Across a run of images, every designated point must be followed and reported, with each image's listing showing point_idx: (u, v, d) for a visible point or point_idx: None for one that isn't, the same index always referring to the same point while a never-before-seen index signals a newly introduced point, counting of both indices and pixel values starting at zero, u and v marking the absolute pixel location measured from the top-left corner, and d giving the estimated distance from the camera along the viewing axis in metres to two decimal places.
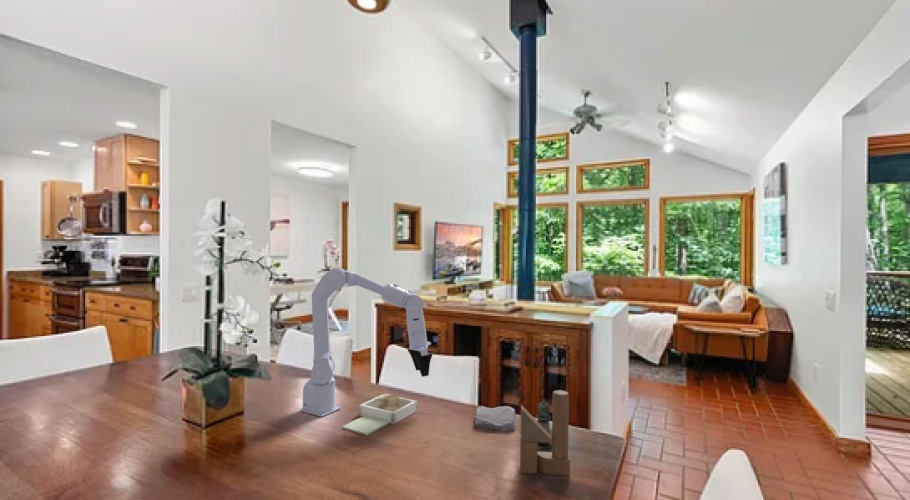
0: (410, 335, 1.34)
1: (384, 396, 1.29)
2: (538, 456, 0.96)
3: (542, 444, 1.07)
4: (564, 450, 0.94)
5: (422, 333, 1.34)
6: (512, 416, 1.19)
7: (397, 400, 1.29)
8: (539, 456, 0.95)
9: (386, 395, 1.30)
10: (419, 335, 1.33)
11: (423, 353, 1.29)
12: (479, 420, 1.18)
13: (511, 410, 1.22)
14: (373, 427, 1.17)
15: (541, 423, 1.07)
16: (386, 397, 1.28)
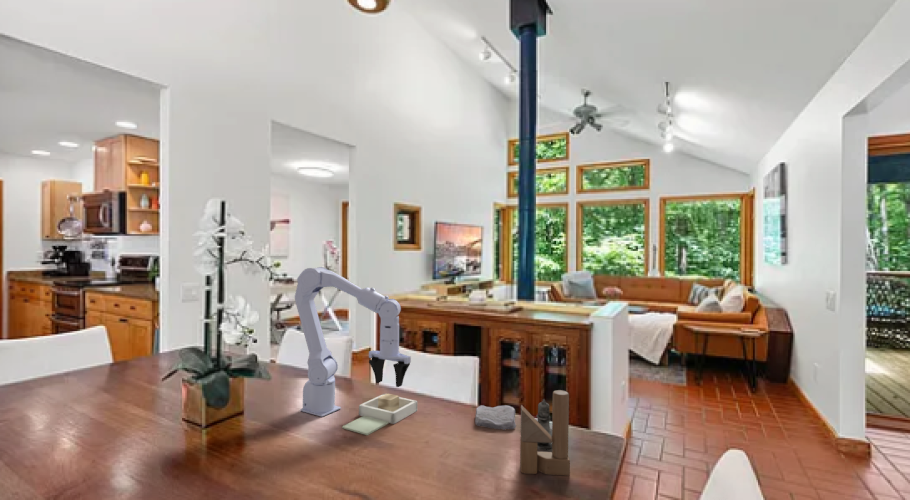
0: (387, 343, 1.26)
1: (384, 396, 1.29)
2: (538, 456, 0.96)
3: (542, 444, 1.07)
4: (564, 450, 0.94)
5: (398, 341, 1.29)
6: (512, 415, 1.20)
7: (397, 400, 1.29)
8: (539, 456, 0.95)
9: (386, 395, 1.30)
10: (397, 343, 1.28)
11: (408, 361, 1.25)
12: (479, 419, 1.19)
13: (511, 409, 1.23)
14: (373, 427, 1.17)
15: (541, 423, 1.07)
16: (386, 397, 1.28)
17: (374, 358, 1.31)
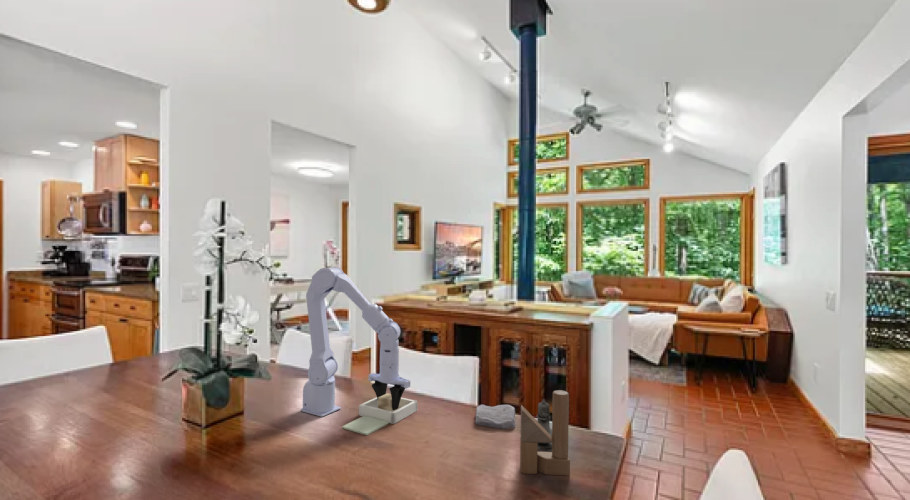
0: (387, 367, 1.26)
1: (384, 396, 1.29)
2: (538, 456, 0.96)
3: (542, 444, 1.07)
4: (564, 450, 0.94)
5: (398, 365, 1.29)
6: (512, 414, 1.21)
7: None
8: (539, 456, 0.95)
9: (386, 395, 1.30)
10: (396, 367, 1.28)
11: (407, 385, 1.25)
12: (479, 418, 1.20)
13: (511, 408, 1.23)
14: (373, 427, 1.17)
15: (541, 423, 1.07)
16: (386, 397, 1.28)
17: None
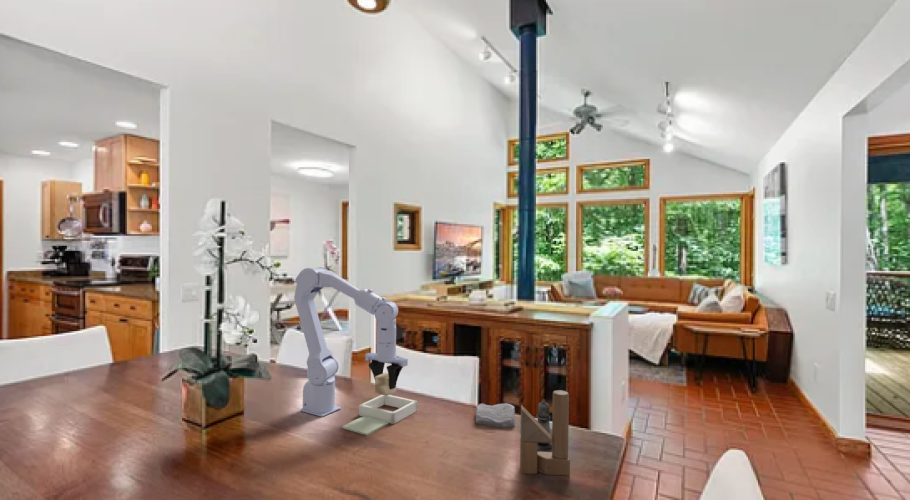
0: (384, 346, 1.25)
1: (381, 375, 1.28)
2: (538, 456, 0.96)
3: (542, 444, 1.07)
4: (564, 450, 0.94)
5: (395, 343, 1.27)
6: (512, 413, 1.22)
7: None
8: (539, 456, 0.95)
9: (383, 374, 1.29)
10: (393, 346, 1.26)
11: (404, 364, 1.24)
12: (480, 417, 1.20)
13: (511, 407, 1.24)
14: (373, 427, 1.17)
15: (541, 423, 1.07)
16: (384, 376, 1.27)
17: None
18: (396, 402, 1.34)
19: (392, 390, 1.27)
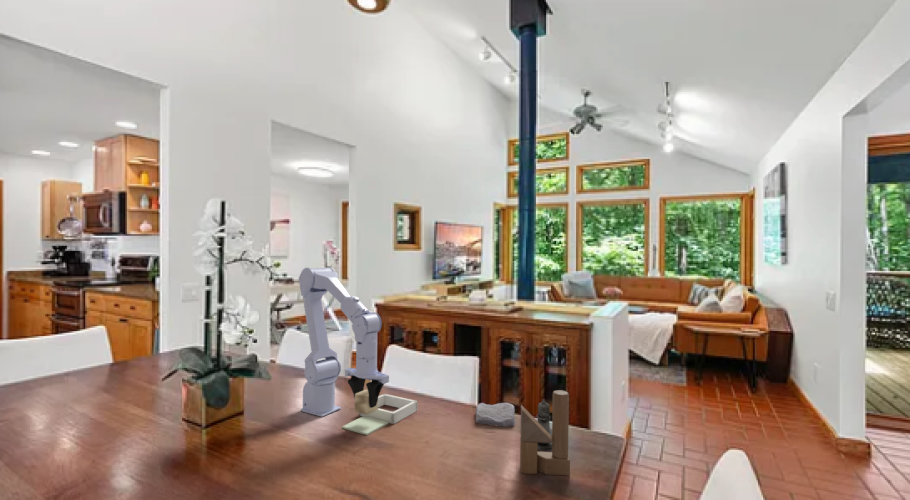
0: (364, 361, 1.16)
1: (361, 392, 1.20)
2: (538, 456, 0.96)
3: (542, 444, 1.07)
4: (564, 450, 0.94)
5: (376, 358, 1.19)
6: (512, 412, 1.22)
7: None
8: (539, 456, 0.95)
9: (364, 391, 1.20)
10: (374, 361, 1.18)
11: (385, 381, 1.15)
12: (480, 416, 1.21)
13: (511, 406, 1.25)
14: (373, 427, 1.17)
15: (541, 423, 1.07)
16: (364, 393, 1.18)
17: None
18: (396, 402, 1.34)
19: (373, 408, 1.18)
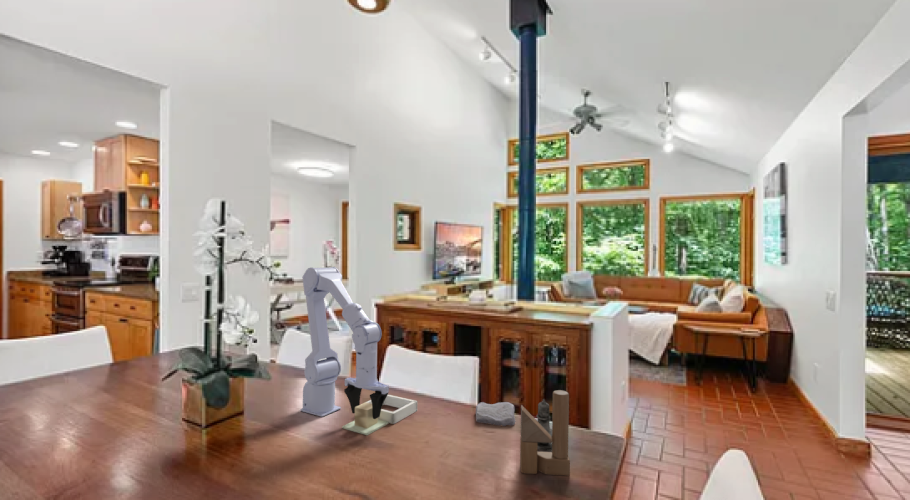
0: (364, 371, 1.16)
1: (361, 405, 1.20)
2: (538, 456, 0.96)
3: (542, 444, 1.07)
4: (564, 450, 0.94)
5: (376, 368, 1.19)
6: (512, 411, 1.23)
7: None
8: (539, 456, 0.95)
9: (364, 404, 1.20)
10: (374, 371, 1.18)
11: (385, 391, 1.15)
12: (480, 416, 1.22)
13: (511, 406, 1.26)
14: (373, 427, 1.17)
15: (541, 423, 1.07)
16: (364, 407, 1.18)
17: (350, 386, 1.21)
18: (396, 402, 1.34)
19: (373, 422, 1.18)
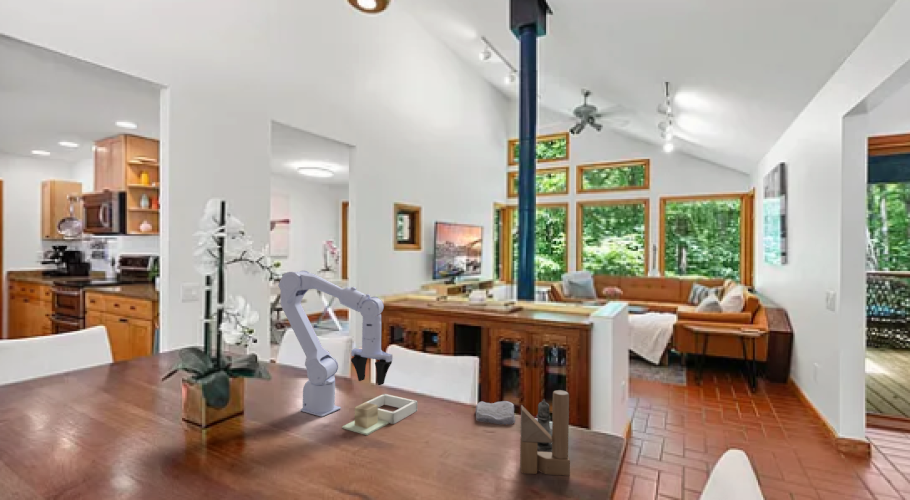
0: (369, 341, 1.26)
1: (361, 405, 1.20)
2: (538, 456, 0.96)
3: (542, 444, 1.07)
4: (564, 450, 0.94)
5: (380, 339, 1.28)
6: (512, 410, 1.24)
7: (375, 410, 1.19)
8: (539, 456, 0.95)
9: (364, 404, 1.20)
10: (379, 341, 1.27)
11: (389, 359, 1.25)
12: (480, 415, 1.22)
13: (510, 405, 1.26)
14: (373, 427, 1.17)
15: (541, 423, 1.07)
16: (364, 407, 1.18)
17: (356, 356, 1.30)
18: (396, 402, 1.34)
19: (373, 422, 1.18)
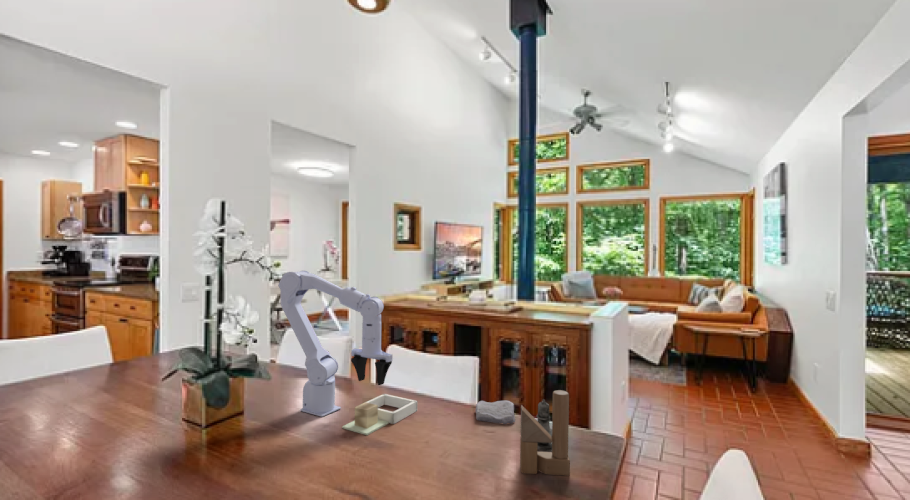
0: (369, 341, 1.26)
1: (361, 405, 1.20)
2: (538, 456, 0.96)
3: (542, 444, 1.07)
4: (564, 450, 0.94)
5: (380, 339, 1.28)
6: (512, 410, 1.24)
7: (375, 410, 1.19)
8: (539, 456, 0.95)
9: (364, 404, 1.20)
10: (379, 341, 1.27)
11: (389, 359, 1.25)
12: (480, 414, 1.23)
13: (510, 404, 1.27)
14: (373, 427, 1.17)
15: (541, 423, 1.07)
16: (364, 407, 1.18)
17: (356, 356, 1.30)
18: (396, 402, 1.34)
19: (373, 422, 1.18)
